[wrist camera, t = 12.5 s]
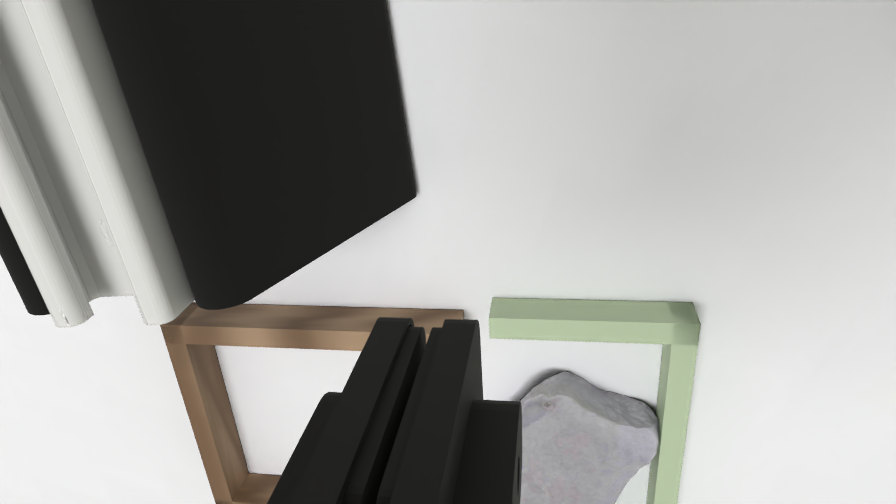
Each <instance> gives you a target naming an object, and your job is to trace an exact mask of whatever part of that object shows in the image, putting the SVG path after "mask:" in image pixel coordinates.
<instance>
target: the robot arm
mask: <svg viewBox="0 0 896 504" xmlns="http://www.w3.org/2000/svg"><path fill="white" fill-rule="evenodd" d="M521 479H522V406H521V402H514V401H494V400H483V387H482V367H481V346H480V328H479V321H478V320H464V319H445V320H444V323H443V326H442V327H433V328H432V329H431V332H430V335H429V338H428V341H427V344H426V334H425V329H424V327H414V322H413V319H412V318H396V317H379V318H378V319H377V321H376V323H375V325H374V327H373V329H372V331H371V333H370V335H369V337H368V339H367V341H366V343H365V346H364V348H363V350H362V352H361V354H360V356H359V358H358V360H357V362H356V364H355V366H354V369H353V371H352V373H351V375H350V377H349V379H348V381H347V383H346V385H345V387H344V389H343V392H342V393H337V392H328V393H326V394H324V396H323V397H322V399H321V400H320V402H319V404H318V406H317V408H316V409H315V411H314V413H313V415H312V417H311V419H310V421H309V423H308V425H307V427H306V429H305V431H304V433H303V435H302V436H301V438H300V440H299V442H298V444H297V446H296V448H295V450H294V452H293V454H292V456H291V458H290V460H289V462H288V464H287V465H286V467H285V469H284V471H283V473H282V475H281V477H280V479H279V481H278V483H277V485H276V487H275V489H274V491H273V493H272V494H271V496H270V498H269V500H268V502H267V504H520V498H521Z"/></svg>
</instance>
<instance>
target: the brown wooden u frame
mask: <svg viewBox="0 0 896 504" xmlns="http://www.w3.org/2000/svg"><path fill="white" fill-rule="evenodd" d="M379 317H396V318H412V319H413V322H414V327H424V329H425V334H426V344H427V341H428V338H429V335H430V332H431V329H432V328H433V327H442V326H443V323H444V320H445V319H464V313H463V310H445V309H408V308H371V307H333V306H296V305H259V304H240V305H237V306H234V307H231V308H226V309H220V310H206V309H202V308H200V307H198V306H197V304H196V303H191V304H190V305H189V306H188V307H187V308H186V309H185V310H184V311H183V312H182V313H181V314H180V315H179V316H177V317H176V318H175V319H174V320H172V321H170V322H168V323H165V324H162V325H160V326H161V330H162V333H163V336H164V339H165V342H166V346H167V349H168V352H169V355H170V358H171V362H172V365H173V368H174V371H175V374H176V378H177V381H178V384H179V387H180V390H181V394H182V397H183V400H184V403H185V406H186V410H187V413H188V416H189V419H190V422H191V426H192V429H193V432H194V435H195V438H196V442H197V445H198V448H199V451H200V454H201V458H202V461H203V464H204V467H205V470H206V474H207V477H208V480H209V483H210V486H211V490H212V493H213V496H214V499H215V503H216V504H267V502H268V500H269V498H270V496H271V494H272V493H273V491H274V489H275V487H276V485H277V483H278V481H279V479H280V477H281V476H279V475H266V474H252V473H249V472H248V468H247V465H246V461H245V457H244V454H243V450H242V446H241V443H240V439H239V435H238V432H237V428H236V424H235V421H234V417H233V413H232V410H231V406H230V402H229V399H228V395H227V391H226V388H225V384H224V380H223V377H222V373H221V369H220V366H219V362H218V358H217V355H216V351H215V347H214V345H223V346H248V347H274V348H300V349H325V350H351V351H362V350H363V348H364V346H365V343H366V341H367V339H368V337H369V335H370V333H371V331H372V329H373V327H374V325H375V323H376V321H377V319H378V318H379Z"/></svg>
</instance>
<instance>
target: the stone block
mask: <svg viewBox="0 0 896 504" xmlns="http://www.w3.org/2000/svg"><path fill="white" fill-rule="evenodd" d="M520 402H521V406H522V479H521V498H520V504H615V502H616V501H617V499H618V497H619V495H620V493H621V491H622V490H623V488H624V486H625V485H626V484H627V482H628V481H629V479H630V478H632V477H633V476H634V475H635V474H636V472H637V471H638V469H640V468H641V467H643V466H645V465H647V464H649V463H650V462H651V461H652V459H653V458H654V456H655V455H656V452H657V448H658V444H659V441H658V420H657V417H656V416H655V414H654V412H653V411H652V410H651V409H650V408H649V407H648V406H647V405H646V404H645V403H643V402H641V401H638V400H636V399H634V398H629V397H628V396H626V395H620V394H617V393H614V392H610V391H603V390H601V389H598V388H596V387H595V386H593V385H592V384H590V383H589V382H588V381H586V380H585V379H583V378H581V377H579V376H576V375H574V374H572V373H570V372H566V371H564V372H561V373H559V374H556V375H554V376H552V377H549V378H547V379H545V380H544V381H543V382H542V383H540V384H538V385H537V386H535V387H534V388H532V389H531V391H530V392H529V393H528V394H527V395H526V396H525V397H524V398H522V400H521V401H520Z"/></svg>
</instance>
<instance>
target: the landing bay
mask: <svg viewBox="0 0 896 504" xmlns="http://www.w3.org/2000/svg"><path fill="white" fill-rule="evenodd" d="M700 325H701V324H700V321H699V319H698V316H697V313H696V311H695V308H694V305H693V303H692V302H652V301H610V300H567V299H524V298H492V304H491V309H490V315H489V332H490V338H497V339H527V340H556V341H585V342H614V343H643V344H663V349H662V359H661V368H660V378H659V388H658V397H657V407H656V417H657V420H658V441H659V444H658V448H657V452H656V455H655V456H654V458H653V459H652V461H651V465H650V475H649V484H648V494H647V504H677V499H678V491H679V483H680V476H681V468H682V461H683V453H684V446H685V438H686V431H687V423H688V416H689V408H690V400H691V393H692V385H693V378H694V370H695V363H696V355H697V348H698V340H699V333H700Z"/></svg>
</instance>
